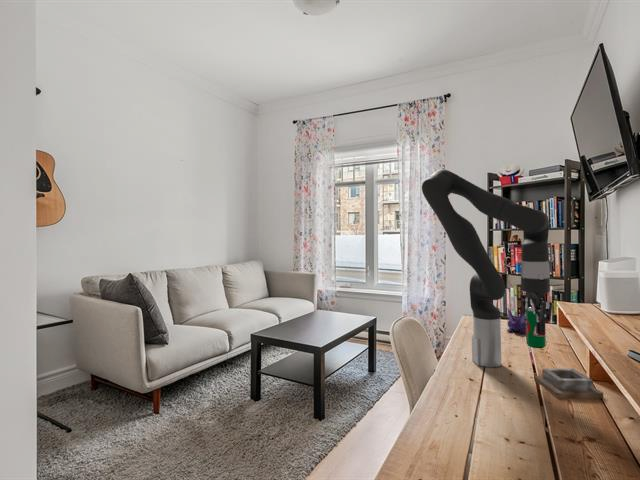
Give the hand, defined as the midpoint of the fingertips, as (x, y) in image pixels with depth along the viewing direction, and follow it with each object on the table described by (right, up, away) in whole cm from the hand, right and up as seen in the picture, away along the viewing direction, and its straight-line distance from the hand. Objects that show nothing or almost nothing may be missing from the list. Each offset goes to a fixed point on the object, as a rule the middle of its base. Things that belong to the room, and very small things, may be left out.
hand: (535, 331), depth 113 cm
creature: (+29, -17, +66) cm, 74 cm away
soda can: (0, -5, 0) cm, 5 cm away
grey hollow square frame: (+11, -18, +2) cm, 21 cm away
